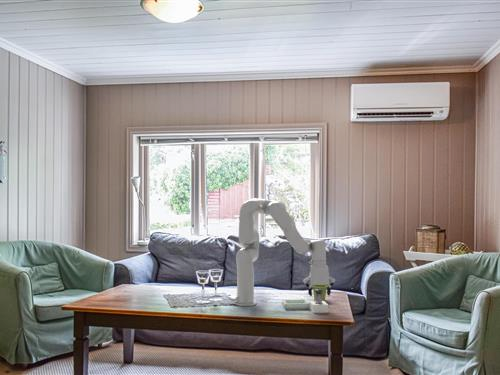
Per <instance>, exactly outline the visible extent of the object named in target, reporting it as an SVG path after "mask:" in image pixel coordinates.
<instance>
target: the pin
mask: <svg viewBox="0 0 500 375" xmlns="http://www.w3.org/2000/svg"><path fill="white" fill-rule="evenodd" d="M315 292H316V300H315V301H316V304H322V292H323V290H322V289H315Z"/></svg>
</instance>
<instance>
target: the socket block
mask: <svg viewBox="0 0 500 375" xmlns="http://www.w3.org/2000/svg"><path fill="white" fill-rule="evenodd" d="M309 310H310V311H311V312H312V313H314V314H321V313H322V314H323V313H324V314H325V313H329V304H328V303H327V302H326V300H325V301H322V304H316V300H313V301H312V300H310V301H309Z"/></svg>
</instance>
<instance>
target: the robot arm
mask: <svg viewBox="0 0 500 375" xmlns="http://www.w3.org/2000/svg"><path fill="white" fill-rule="evenodd" d="M256 214H258V215H259V214H262V215H267V216H268V215H269V216H270V217H271V219H273V221H274V222H275V223H276V225H277V226H278V227H279V229H280V230H281V231H282V232H283V234H284V236H285V238H286V240H287V242H288V243H289V245H290V246H291V247H292V248H293V249H294V251H295V252H296V253H297V254H300V255H306V254H308V253H311V260H308V263H309V265H310V264H311V265H310V267H309V276H307V277H306V278H304V279H303V280H302V281H303V283H304V285H305V286H306V287H307V289H308V290H307V291H308V292H307V293H308V295H309V296H310V297H312V296H313V288H312V286H313V285H327V286H328V287H327V289H326V295H327V296H328V297H329V296H331V294H332V293H331V292H332V291H331V288H332V287H333V286H334V285H335V282H336V278H334V277H332V276H330V272H329V271H330V270H329V266H328V265H327V257H326V256H327V251H326V250H327V248H326V247H327V246H326V245H327V243H326V241H325V240H324V239H310V238H303V236H302V235H301V233H300V232H299V231H298V229H297V226H296V221H295V220H294V218H293V217H292V216H291V215H290V213H289V212H288V211H287V207H286V204H285V203H283V201H277V200H271V199H265V198H251V199H249V200H247V201H245V202H243V203H242V205H241V207H240V210H239V214H238V215H239V217H238V218H239V221H238V222H239V223H238V242H239V244H241V245H242V246H243V247H242V248H240V249H239V250H237V253H236V255H235V261H236V277H237V278H236V280H237V282H236V284H237V285H236V289H237V290H236V295H234V296H228V300H229V301H234V305H236V306H240V307H251V306H255V305H257V300H255V268H254V263H255V261H257V260H258V258H259V255H260V233H259V231H258V230H257V229H256V228H255V220H254V216H255V215H256ZM330 280H331V282H330ZM308 281H309V283H308Z"/></svg>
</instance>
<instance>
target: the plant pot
mask: <svg viewBox="0 0 500 375" xmlns="http://www.w3.org/2000/svg"><path fill="white" fill-rule="evenodd" d="M327 287H328V286H327V285H313V286H312V287H311V289H312V294H313V298H314V300H313V301H316V292H315V289H322V290H323V292H322V301H325V302H326V297H327V296H326V295H327Z"/></svg>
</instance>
